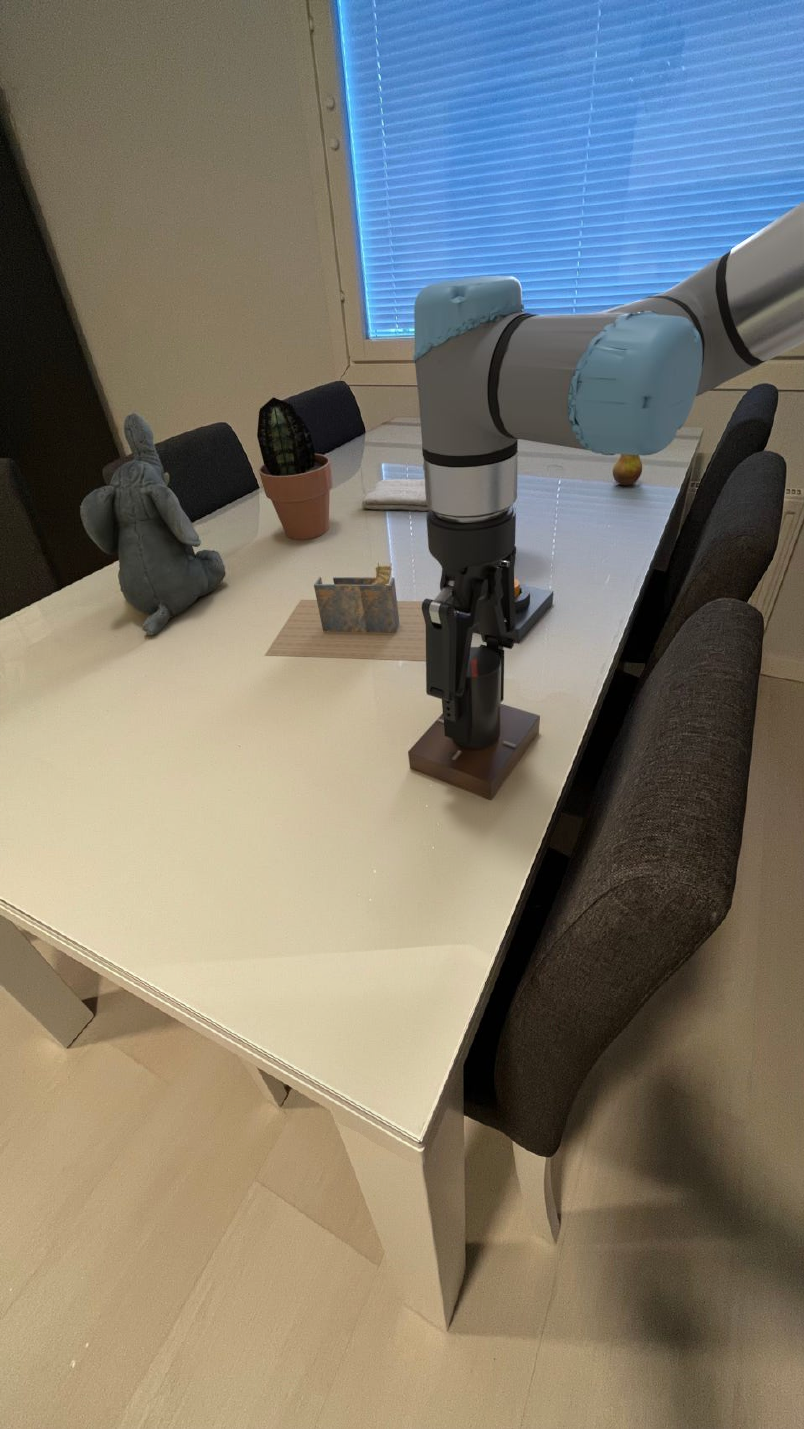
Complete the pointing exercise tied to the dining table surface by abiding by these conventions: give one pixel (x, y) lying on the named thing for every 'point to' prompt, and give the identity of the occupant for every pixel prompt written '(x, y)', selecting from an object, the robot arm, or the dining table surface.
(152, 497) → the stuffed elephant
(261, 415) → the potted plant
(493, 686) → the dimmer knob
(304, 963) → the dining table surface
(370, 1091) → the dining table surface
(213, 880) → the dining table surface
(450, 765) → the dimmer panel
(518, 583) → the button
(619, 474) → the fruit
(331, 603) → the architectural model on board
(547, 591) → the switch box
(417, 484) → the washcloth
